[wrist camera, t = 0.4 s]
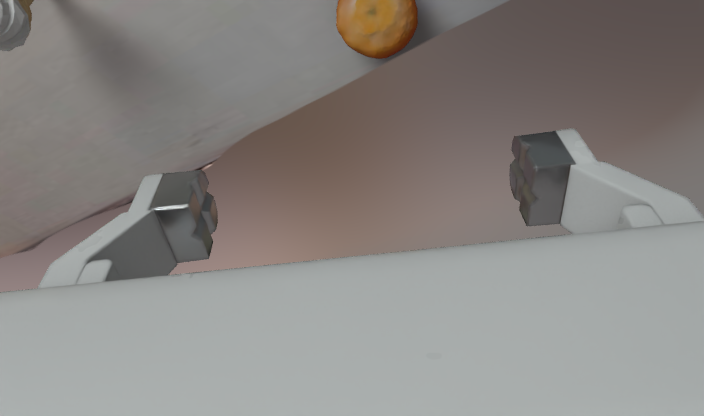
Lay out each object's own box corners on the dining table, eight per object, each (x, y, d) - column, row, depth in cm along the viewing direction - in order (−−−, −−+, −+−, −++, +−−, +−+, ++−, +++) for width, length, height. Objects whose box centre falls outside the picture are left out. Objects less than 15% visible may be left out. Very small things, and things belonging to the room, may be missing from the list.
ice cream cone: (29, -61, 52) (-57, -12, 40) (83, -17, 55) (16, 41, 43) (2, -19, 54) (-87, 39, 43) (55, 21, 57) (-15, 86, 45)
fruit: (365, 74, 60) (350, 70, 52) (336, 7, 59) (317, -8, 52) (433, 41, 58) (428, 31, 50) (404, -29, 57) (394, -50, 50)
